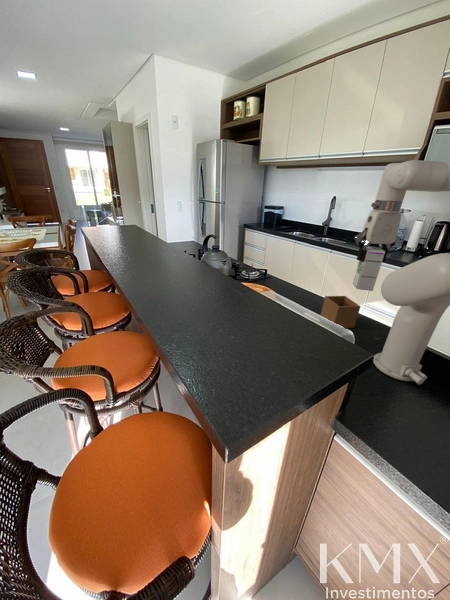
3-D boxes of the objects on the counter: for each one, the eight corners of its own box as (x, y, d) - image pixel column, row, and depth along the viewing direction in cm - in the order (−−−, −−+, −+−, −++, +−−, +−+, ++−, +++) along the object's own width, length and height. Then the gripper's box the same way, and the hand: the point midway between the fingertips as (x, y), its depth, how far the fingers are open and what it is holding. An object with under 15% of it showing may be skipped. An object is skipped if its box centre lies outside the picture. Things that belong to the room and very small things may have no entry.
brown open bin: (354, 327, 99) (360, 306, 95) (333, 328, 98) (338, 306, 94) (339, 315, 108) (345, 295, 104) (320, 316, 107) (324, 296, 103)
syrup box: (373, 291, 88) (386, 251, 82) (355, 289, 89) (367, 249, 83) (368, 285, 93) (380, 247, 87) (351, 283, 94) (362, 245, 88)
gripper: (370, 207, 75) (354, 263, 82) (420, 209, 77) (400, 264, 85) (355, 205, 81) (341, 257, 89) (401, 207, 84) (384, 258, 92)
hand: (370, 260), depth 87 cm, fingers closed on syrup box, 7 cm apart
